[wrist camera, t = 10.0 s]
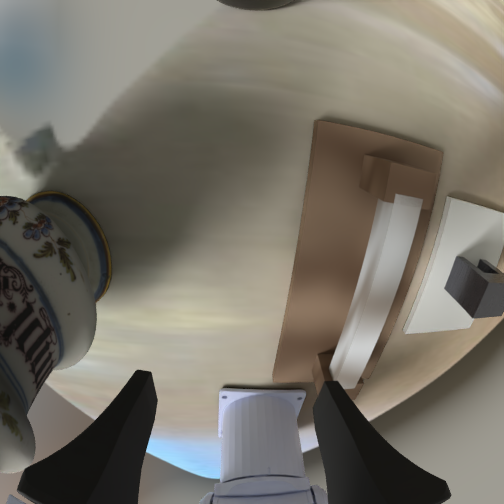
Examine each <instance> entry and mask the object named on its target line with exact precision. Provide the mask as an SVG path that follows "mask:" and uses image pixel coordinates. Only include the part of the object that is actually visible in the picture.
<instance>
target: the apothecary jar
mask: <svg viewBox="0 0 504 504" xmlns="http://www.w3.org/2000/svg"><path fill="white" fill-rule="evenodd" d="M110 279H111V256H110V251H109V247H108V243H107V241H106V238H105V235H104V233H103V231H102V229H101V227H100V225H99V224H98V222H97V221H96V220H95V218H94V217H93V216H92V215H91V213H90V212H89V211H88V210H87V209H86V208H85V207H84V206H83V205H82V204H81V203H80V202H78V201H77V200H75V199H74V198H72V197H70V196H68V195H66V194H63V193H60V192H56V191H44V192H40V193H37V194H35V195H33V196H31V197H30V198H29V199H27V200H26V201H25V200H23V199H20V198H17V197H11V196H0V473H16V472H19V471H22V470H24V469H25V468H27V467H28V466H29V465H30V464H31V463H32V461H33V459H34V454H35V437H34V434H33V430H32V427H31V424H30V422H29V420H28V418H27V413H28V411H29V409H30V407H31V405H32V403H33V401H34V399H35V397H36V396H37V394H38V392H39V391H40V389H41V387H42V385H43V384H44V382H45V381H46V379H47V378H48V376H49V375H50V373H51V372H52V370H61V369H65V368H69V367H71V366H73V365H75V364H76V363H78V362H79V361H80V360H81V359H82V358H83V357H84V356H85V355H86V353H87V352H88V350H89V348H90V346H91V344H92V342H93V339H94V335H95V330H96V321H97V313H96V302H97V301H99V300H100V299H101V298H102V296H103V295H104V294H105V292H106V290H107V288H108V286H109V282H110Z"/></svg>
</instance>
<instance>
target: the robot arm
mask: <svg viewBox="0 0 504 504" xmlns="http://www.w3.org/2000/svg"><path fill="white" fill-rule="evenodd" d="M305 397H306V391H305V390H256V389H234V388H222V389H220V391H219V433H218V436H219V437H220V438H222V445H221V470H220V483H215V488H214V489H215V490H214V492H209V493H207V494H206V495H205V496H204V497H203V498H202V499H201V500H200V502H199V504H441V503H443V502H445V501H446V500H448V499H449V498H450V497H451V493H450V490H449V488H448V485H447V483H446V481H445V480H442V479H440V478H438V477H436V476H434V475H432V474H430V473H428V472H427V471H425V470H423V469H422V468H420V467H418V466H417V465H415V464H414V463H413V462H411V461H410V460H408V459H407V458H406V457H404V456H403V455H402V454H400V453H399V452H398V451H397V450H396V449H394V448H393V447H392V446H391V445H390V444H389V443H388V442H387V441H386V440H385V439H384V438H383V437H382V436H381V435H380V434H379V433H378V432H377V431H376V430H375V429H374V427H373V426H372V425H371V424H370V423H369V422H368V420H367V419H366V418H365V417H364V415H363V414H362V413H361V412H360V410H359V409H358V408H357V407H356V405H355V404H354V402H353V401H352V400H351V398H350V397H349V396H348V394H347V393H346V391H345V390H344V389H343V387H342V386H341V384H340V383H339V382H338V381H324V383H323V386H322V388H321V390H320V393H319V395H318V397H317V400H316V402H315V404H314V407H313V415H314V424H315V431H316V435H317V439H318V444H319V448H320V451H321V456H322V460H323V464H324V468H325V474H326V482H327V492H328V496H327V493H326V491H325V490H324V489H322V488H320V487H319V486H318V485H312V486H311V487H310V481H309V477H305V470H304V463H303V457H302V450H301V444H300V437H299V431H298V425H297V417H298V415H299V412H300V410H301V407H302V404H303V402H304V399H305ZM157 401H158V399H157V395H156V391H155V387H154V382H153V377H152V373H151V372H149V371H143V370H136V371H135V373H134V374H133V375H132V377H131V378H130V379H129V381H128V382H127V384H126V385H125V386H124V388H123V389H122V390H121V391H120V393H119V394H118V395H117V396H116V398H115V399H114V400H113V401H112V402H111V404H110V405H109V406H108V407H107V408H106V409H105V410H104V411H103V413H102V414H101V415H100V416H99V417H98V418H97V419H96V420H95V421H94V422H93V423H92V424H91V425H90V426H89V427H88V428H87V429H86V430H84V431H83V432H82V433H81V434H80V435H79V436H77V437H76V438H75V439H74V440H72V441H71V442H70V443H69V444H67V445H66V446H64V447H63V448H61V449H60V450H58V451H57V452H55V453H53V454H52V455H50V456H49V457H47V458H45V459H43V460H41V461H39V462H37V463H35V464H33V465H31V466H29V467H27V468H25V470H24V472H23V474H22V476H21V480H20V482H19V485H18V488H17V492H18V493H19V494H21V495H22V496H24V497H25V498H27V499H28V500H30V501H31V502H33V503H35V504H138V493H139V484H140V476H141V468H142V464H143V460H144V456H145V452H146V449H147V445H148V442H149V438H150V435H151V431H152V428H153V424H154V420H155V414H156V408H157ZM6 504H26V503H24V502H22V501H21V500H19V499H17V498H16V497H14V496H13V495H9V497H8V500H7V503H6Z"/></svg>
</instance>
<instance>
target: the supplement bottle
mask: <svg viewBox="0 0 504 504" xmlns="http://www.w3.org/2000/svg"><path fill="white" fill-rule="evenodd" d="M217 1H219V2H221V3H223V4H225V5H228V6H231V7H235V8H239V9H246V10H266V9H273V8H277V7H281V6H283V5H286V4H288V3H290V2H292V1H294V0H217Z"/></svg>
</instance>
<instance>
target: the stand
mask: <svg viewBox="0 0 504 504" xmlns="http://www.w3.org/2000/svg"><path fill="white" fill-rule="evenodd" d="M442 158H443V152H441V151H438V150H435V149H432V148H429V147H426V146H423V145H420V144H417V143H414V142H410V141H407V140H403V139H400V138H396V137H393V136H389V135H385V134H381V133H378V132H374V131H369V130H365V129H361V128H356V127H352V126H347V125H342V124H337V123H332V122H327V121H321V120H315V121H314V129H313V138H312V146H311V154H310V162H309V169H308V176H307V184H306V191H305V198H304V204H303V211H302V218H301V224H300V230H299V237H298V243H297V249H296V255H295V261H294V266H293V272H292V278H291V283H290V289H289V294H288V300H287V305H286V310H285V315H284V321H283V326H282V331H281V336H280V340H279V345H278V350H277V355H276V360H275V364H274V369H273V374H272V375H273V382H280V383H292V382H314V383H315V387H316V391H317V395H319V393H320V390H321V388H322V386H323V383H324V381H338V382H339V383H340V384H341V386H342V387H343V389H344V390H345V391H346V393H347V394H348V396H349V397H350V398H351V400H355V399H356V397H357V395H358V393H359V392H360V390H361V388H362V386H363V384H364V382H363V380H362V379H369V377H370V376H371V374H372V372H373V370H374V368H375V366H376V364H377V362H378V360H379V358H380V356H381V353H382V351H383V349H384V347H385V345H386V343H387V340H388V338H389V336H390V334H391V331H392V329H393V327H394V324H395V322H396V320H397V317H398V315H399V312H400V310H401V307H402V305H403V302H404V300H405V297H406V294H407V292H408V289H409V286H410V283H411V280H412V278H413V275H414V272H415V269H416V266H417V263H418V259H419V256H420V253H421V250H422V246H423V243H424V240H425V236H426V232H427V229H428V225H429V221H430V217H431V213H432V209H433V205H434V200H435V196H436V191H437V186H438V181H439V176H440V170H441V165H442Z"/></svg>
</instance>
